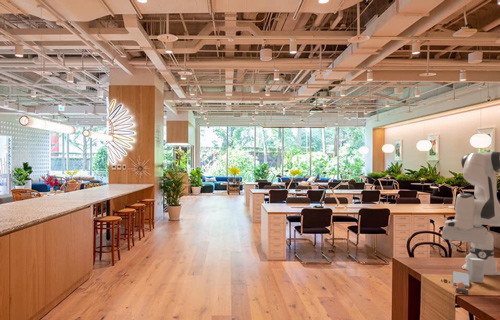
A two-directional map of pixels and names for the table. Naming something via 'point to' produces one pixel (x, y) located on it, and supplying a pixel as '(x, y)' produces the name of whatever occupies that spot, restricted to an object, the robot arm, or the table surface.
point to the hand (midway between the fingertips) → (462, 249)
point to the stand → (445, 280)
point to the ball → (460, 285)
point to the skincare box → (476, 270)
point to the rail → (462, 290)
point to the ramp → (461, 278)
